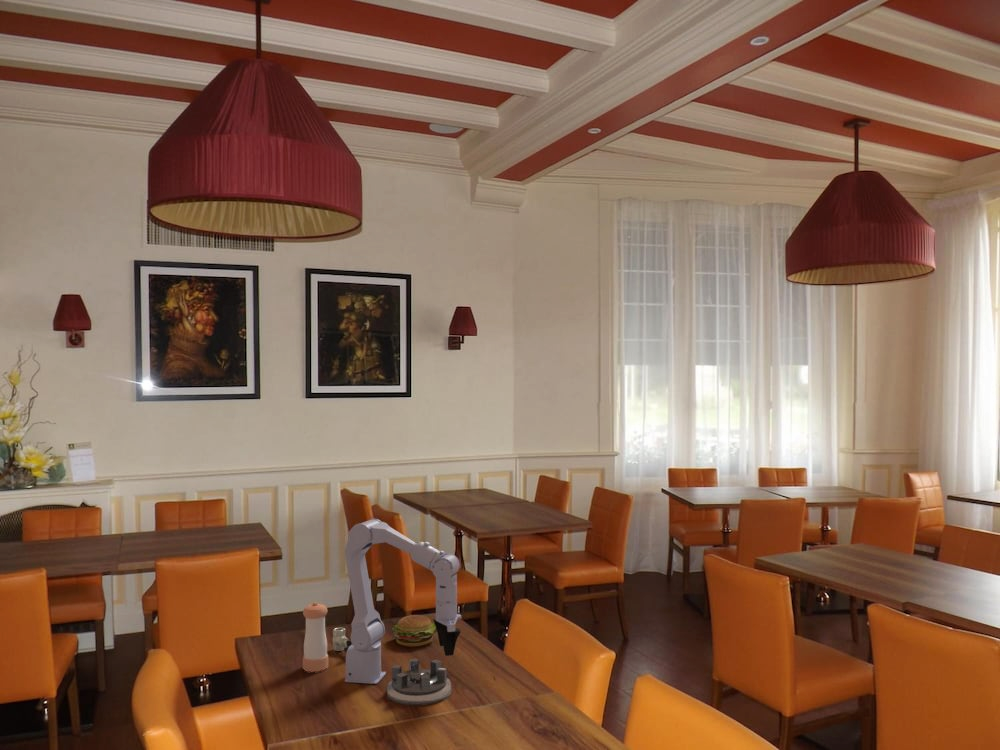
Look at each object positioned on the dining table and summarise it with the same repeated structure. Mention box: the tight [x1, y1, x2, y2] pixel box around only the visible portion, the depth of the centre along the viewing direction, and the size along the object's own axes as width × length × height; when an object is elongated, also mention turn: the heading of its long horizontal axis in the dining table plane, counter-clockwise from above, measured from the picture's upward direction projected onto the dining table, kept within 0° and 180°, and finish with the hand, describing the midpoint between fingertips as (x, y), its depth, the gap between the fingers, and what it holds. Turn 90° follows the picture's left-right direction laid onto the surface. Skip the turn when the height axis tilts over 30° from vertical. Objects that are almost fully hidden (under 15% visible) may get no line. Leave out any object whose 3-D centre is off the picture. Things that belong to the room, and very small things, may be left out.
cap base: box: [386, 677, 452, 707], centre depth 204 cm, size 17×17×2 cm
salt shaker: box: [302, 601, 329, 672], centre depth 223 cm, size 7×7×19 cm
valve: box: [332, 626, 353, 653], centre depth 235 cm, size 7×7×12 cm
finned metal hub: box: [391, 657, 448, 695], centre depth 204 cm, size 15×15×4 cm
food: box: [391, 614, 437, 648], centre depth 245 cm, size 14×14×8 cm
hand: (446, 650), depth 207 cm, fingers open, 7 cm apart
